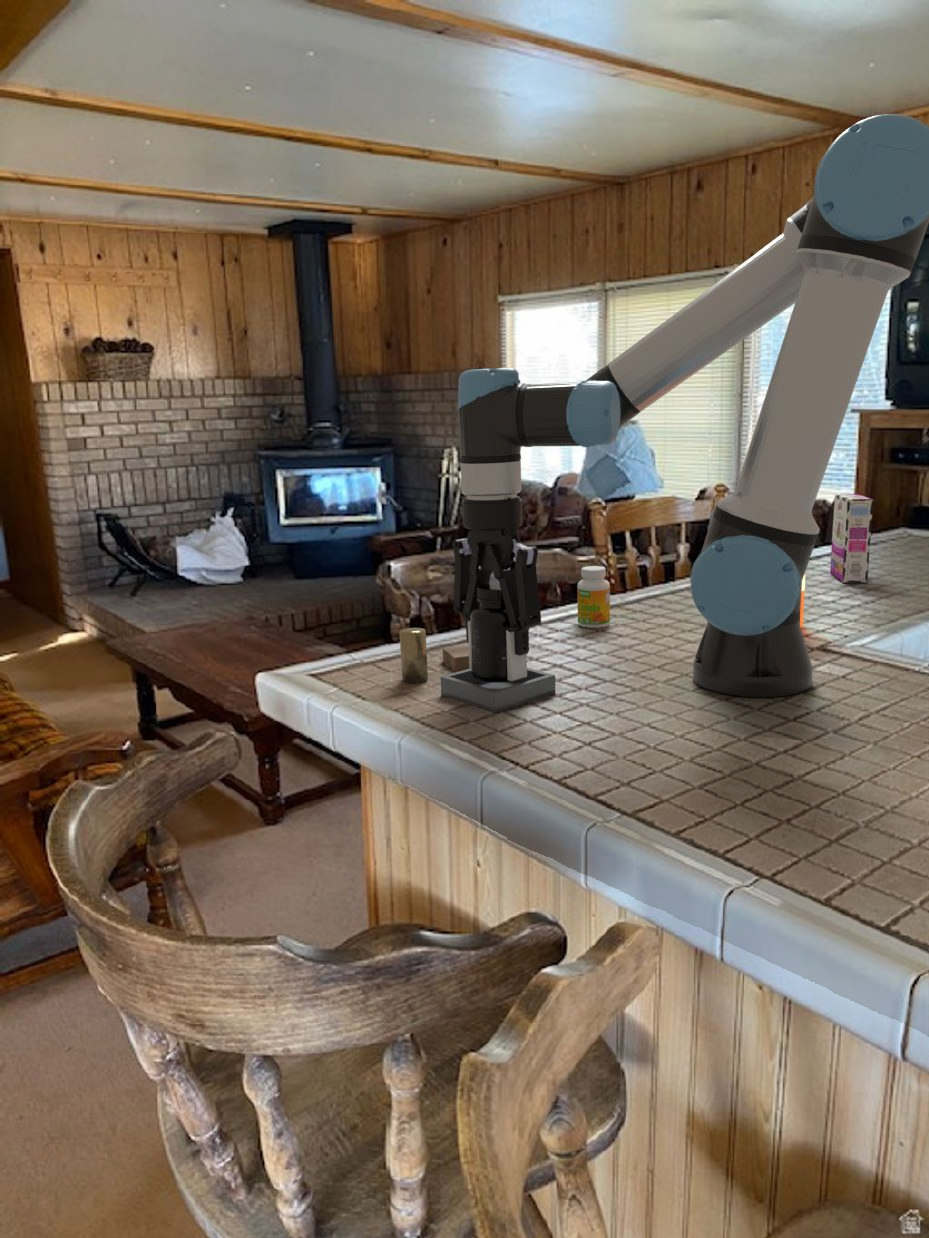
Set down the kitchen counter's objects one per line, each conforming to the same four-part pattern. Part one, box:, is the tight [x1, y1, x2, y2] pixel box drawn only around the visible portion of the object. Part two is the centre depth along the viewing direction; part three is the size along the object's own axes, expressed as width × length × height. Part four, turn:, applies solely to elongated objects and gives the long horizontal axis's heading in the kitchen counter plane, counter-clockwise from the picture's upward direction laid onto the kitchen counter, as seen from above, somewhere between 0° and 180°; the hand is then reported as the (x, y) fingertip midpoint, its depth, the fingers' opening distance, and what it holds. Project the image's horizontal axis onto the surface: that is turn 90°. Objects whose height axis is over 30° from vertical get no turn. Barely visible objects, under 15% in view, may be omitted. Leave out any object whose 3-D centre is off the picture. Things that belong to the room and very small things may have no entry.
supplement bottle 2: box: [576, 565, 611, 629], centre depth 159 cm, size 5×5×10 cm
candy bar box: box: [829, 493, 874, 584], centre depth 187 cm, size 11×5×16 cm, turn 172°
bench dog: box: [399, 627, 429, 684], centre depth 132 cm, size 4×4×7 cm
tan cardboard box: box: [441, 644, 470, 673], centre depth 139 cm, size 6×9×2 cm, turn 108°
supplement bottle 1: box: [470, 582, 520, 683], centre depth 122 cm, size 7×7×12 cm
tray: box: [440, 667, 556, 713], centre depth 124 cm, size 11×11×2 cm
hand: (497, 672), depth 124 cm, fingers closed on supplement bottle 1, 7 cm apart
